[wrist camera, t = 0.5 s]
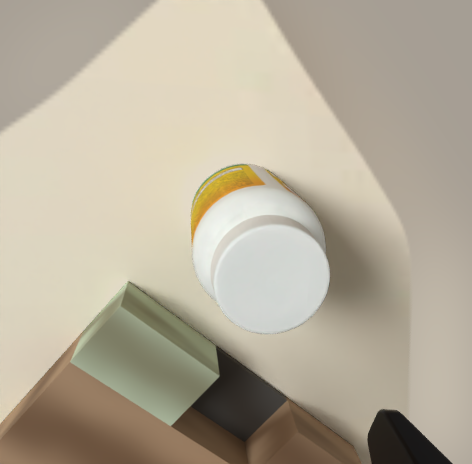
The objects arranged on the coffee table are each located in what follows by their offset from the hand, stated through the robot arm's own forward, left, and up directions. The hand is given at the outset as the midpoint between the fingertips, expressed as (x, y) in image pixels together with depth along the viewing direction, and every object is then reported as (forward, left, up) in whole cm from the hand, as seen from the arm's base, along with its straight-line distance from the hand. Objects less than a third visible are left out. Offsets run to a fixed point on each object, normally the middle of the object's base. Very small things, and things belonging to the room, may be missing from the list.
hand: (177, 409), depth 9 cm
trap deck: (-13, -9, -15) cm, 22 cm away
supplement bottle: (+2, -2, -15) cm, 15 cm away
